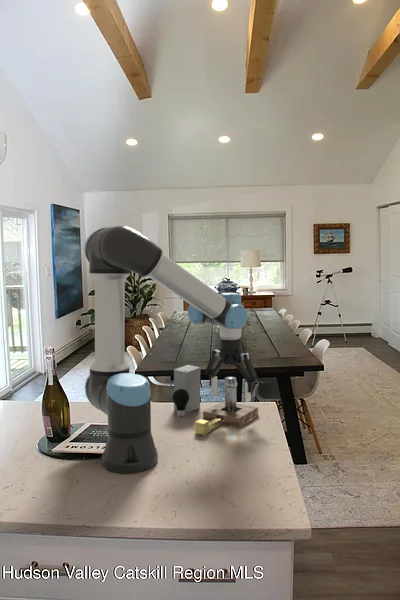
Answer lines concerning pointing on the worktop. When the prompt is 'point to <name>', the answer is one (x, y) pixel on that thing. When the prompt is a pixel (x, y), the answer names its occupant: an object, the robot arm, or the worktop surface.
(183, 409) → the light bulb
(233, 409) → the cylinder
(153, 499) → the worktop surface
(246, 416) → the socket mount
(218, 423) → the lock pin
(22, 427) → the worktop surface
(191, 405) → the skincare box
